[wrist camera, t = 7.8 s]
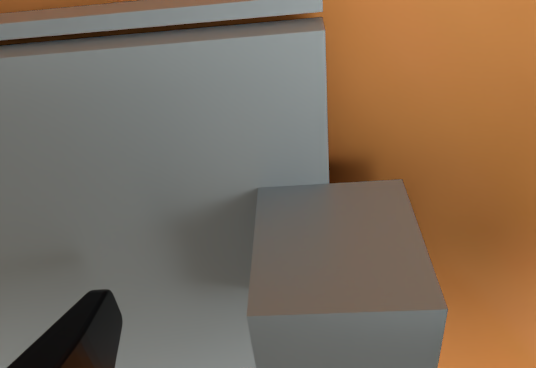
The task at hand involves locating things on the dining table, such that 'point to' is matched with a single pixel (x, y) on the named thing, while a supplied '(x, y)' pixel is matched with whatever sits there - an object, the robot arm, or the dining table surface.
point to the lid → (199, 195)
